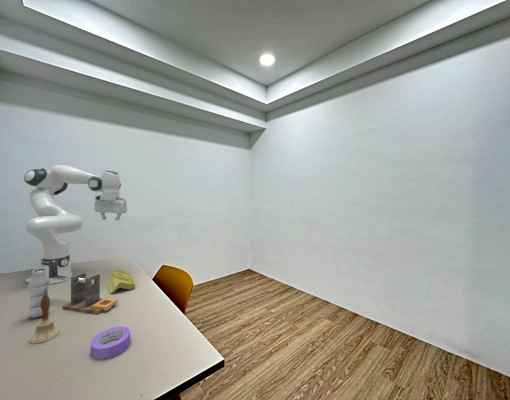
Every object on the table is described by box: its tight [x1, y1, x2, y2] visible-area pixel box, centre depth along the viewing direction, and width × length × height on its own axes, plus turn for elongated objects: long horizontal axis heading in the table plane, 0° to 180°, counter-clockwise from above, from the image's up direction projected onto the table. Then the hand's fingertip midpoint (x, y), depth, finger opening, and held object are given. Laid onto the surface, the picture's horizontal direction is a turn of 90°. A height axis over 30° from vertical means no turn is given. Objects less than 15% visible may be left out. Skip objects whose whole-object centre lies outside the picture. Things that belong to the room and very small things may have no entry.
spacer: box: [92, 298, 119, 311], centre depth 100 cm, size 1×7×7 cm
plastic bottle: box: [27, 269, 51, 319], centre depth 92 cm, size 6×7×20 cm
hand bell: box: [28, 293, 61, 345], centre depth 80 cm, size 8×8×16 cm
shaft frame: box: [61, 272, 117, 315], centre depth 101 cm, size 19×10×14 cm, turn 80°
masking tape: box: [90, 326, 131, 360], centre depth 76 cm, size 12×12×4 cm
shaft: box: [49, 260, 87, 283], centre depth 103 cm, size 23×3×9 cm, turn 80°
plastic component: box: [107, 268, 136, 294], centre depth 124 cm, size 20×7×10 cm
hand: (110, 219), depth 131 cm, fingers open, 8 cm apart
